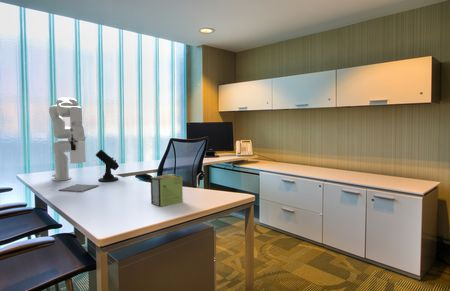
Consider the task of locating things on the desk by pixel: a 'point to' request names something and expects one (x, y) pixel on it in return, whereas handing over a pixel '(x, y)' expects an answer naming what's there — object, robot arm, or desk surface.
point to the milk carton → (78, 152)
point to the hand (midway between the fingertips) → (77, 149)
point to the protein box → (166, 190)
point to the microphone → (107, 167)
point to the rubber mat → (78, 188)
